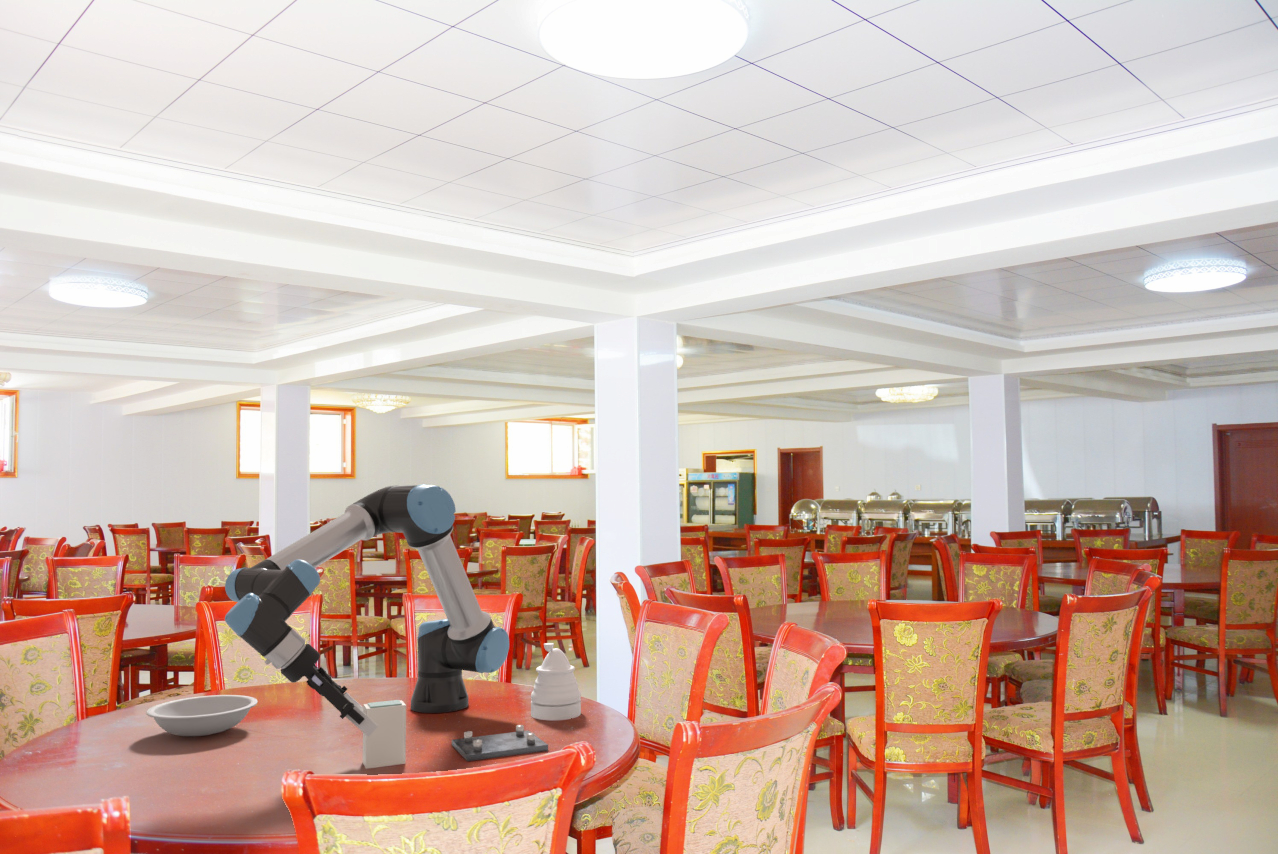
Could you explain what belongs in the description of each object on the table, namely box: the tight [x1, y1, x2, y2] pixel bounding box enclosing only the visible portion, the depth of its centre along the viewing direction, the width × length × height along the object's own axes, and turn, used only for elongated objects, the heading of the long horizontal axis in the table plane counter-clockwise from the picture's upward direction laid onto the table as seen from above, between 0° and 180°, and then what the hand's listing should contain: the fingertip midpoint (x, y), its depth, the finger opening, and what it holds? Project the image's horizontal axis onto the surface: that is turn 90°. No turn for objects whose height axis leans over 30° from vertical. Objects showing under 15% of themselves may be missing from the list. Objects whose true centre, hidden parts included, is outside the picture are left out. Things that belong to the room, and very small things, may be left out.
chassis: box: [451, 724, 549, 762], centre depth 197 cm, size 14×18×3 cm
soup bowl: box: [145, 694, 258, 737], centre depth 213 cm, size 24×24×7 cm
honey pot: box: [530, 642, 582, 721], centre depth 229 cm, size 13×13×18 cm
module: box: [362, 699, 407, 770], centre depth 187 cm, size 5×8×12 cm, turn 115°
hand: (368, 724), depth 185 cm, fingers open, 13 cm apart
